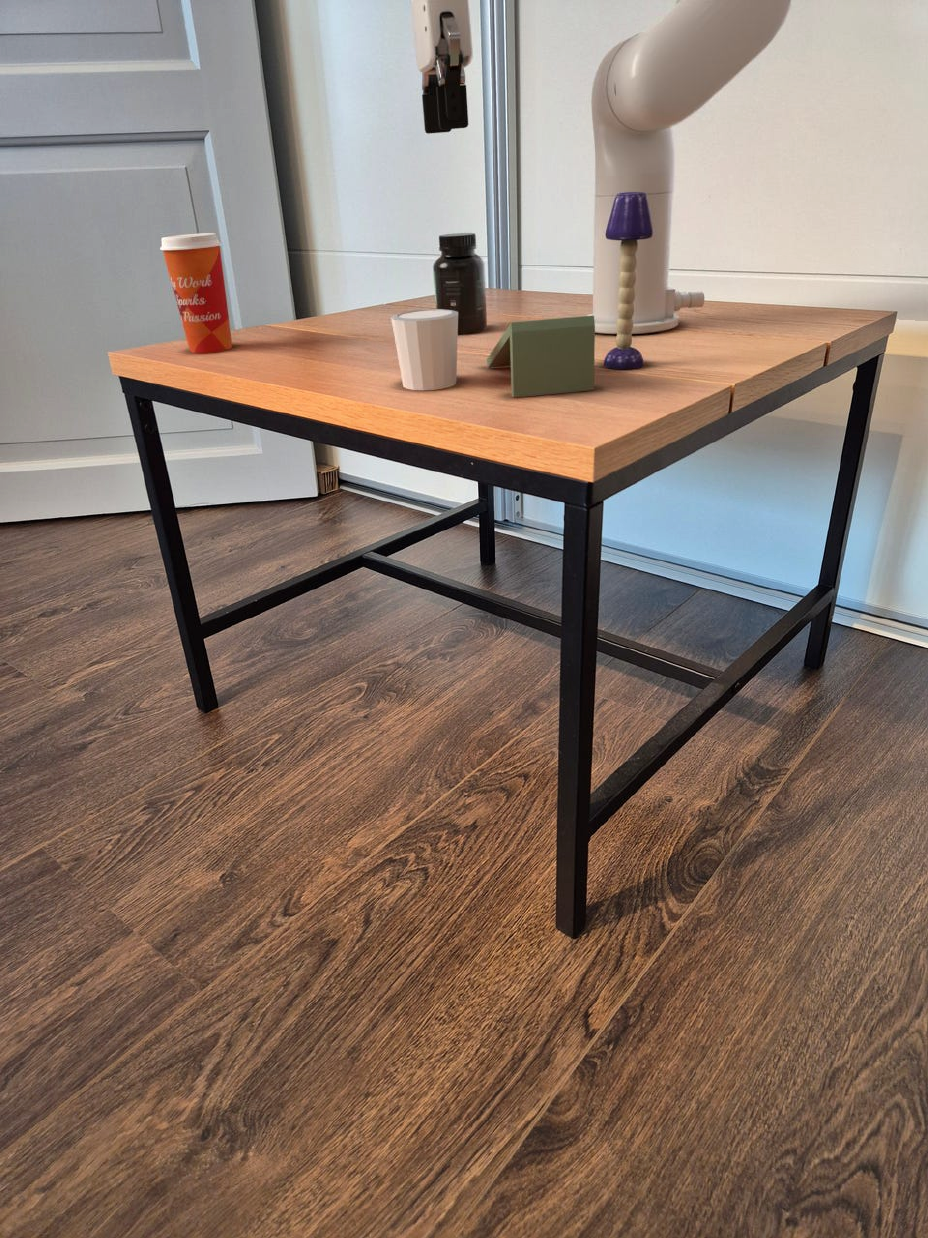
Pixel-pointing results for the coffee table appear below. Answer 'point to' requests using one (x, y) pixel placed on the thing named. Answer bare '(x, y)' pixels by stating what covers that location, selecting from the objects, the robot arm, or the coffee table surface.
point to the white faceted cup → (427, 348)
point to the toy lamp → (627, 271)
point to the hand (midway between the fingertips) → (445, 130)
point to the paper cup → (199, 290)
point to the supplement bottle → (461, 281)
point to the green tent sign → (548, 355)
